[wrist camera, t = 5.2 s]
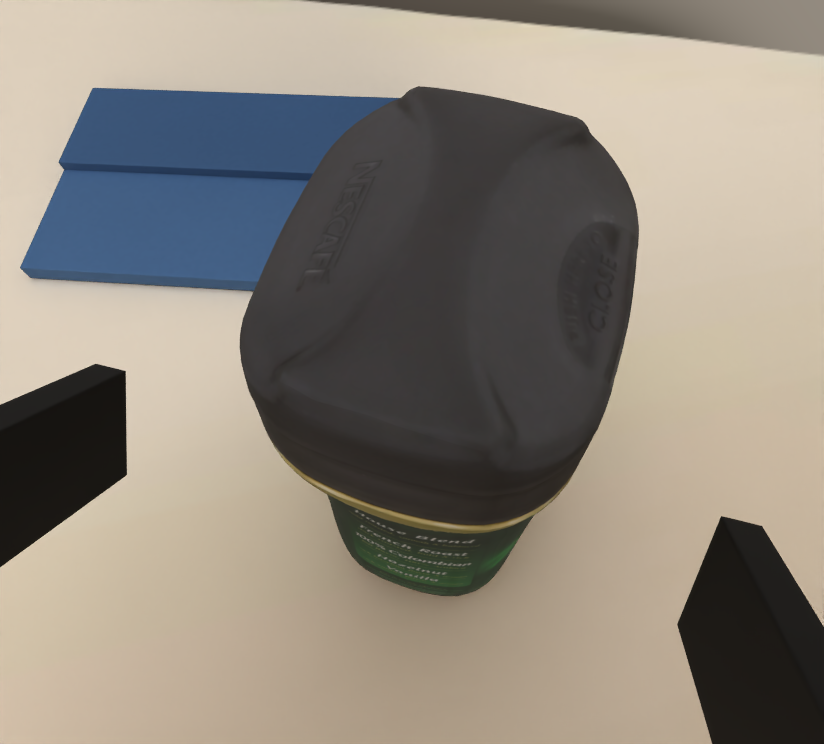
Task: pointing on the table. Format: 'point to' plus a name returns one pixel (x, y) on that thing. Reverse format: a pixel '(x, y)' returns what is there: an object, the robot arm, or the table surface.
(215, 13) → the table surface
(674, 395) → the table surface
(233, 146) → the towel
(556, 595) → the table surface
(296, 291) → the coffee jar
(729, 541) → the robot arm
